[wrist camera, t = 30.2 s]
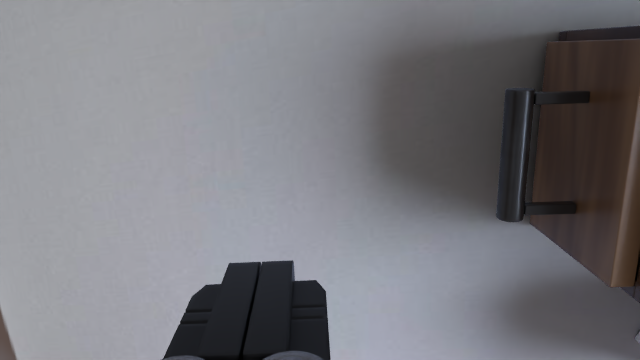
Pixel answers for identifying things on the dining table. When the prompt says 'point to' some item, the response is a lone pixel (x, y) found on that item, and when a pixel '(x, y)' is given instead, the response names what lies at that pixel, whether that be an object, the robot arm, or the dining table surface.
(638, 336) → the cup
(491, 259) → the dining table surface
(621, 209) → the drawer
